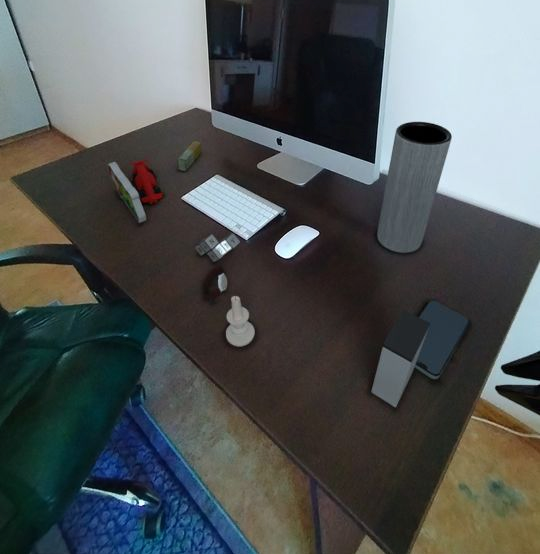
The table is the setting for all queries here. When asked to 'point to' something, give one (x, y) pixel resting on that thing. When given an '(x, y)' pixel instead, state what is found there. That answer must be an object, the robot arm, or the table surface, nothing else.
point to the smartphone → (439, 338)
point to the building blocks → (216, 246)
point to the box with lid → (399, 357)
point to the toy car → (145, 182)
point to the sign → (127, 192)
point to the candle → (239, 324)
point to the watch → (221, 282)
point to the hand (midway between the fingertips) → (499, 379)
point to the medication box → (189, 156)
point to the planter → (412, 184)
